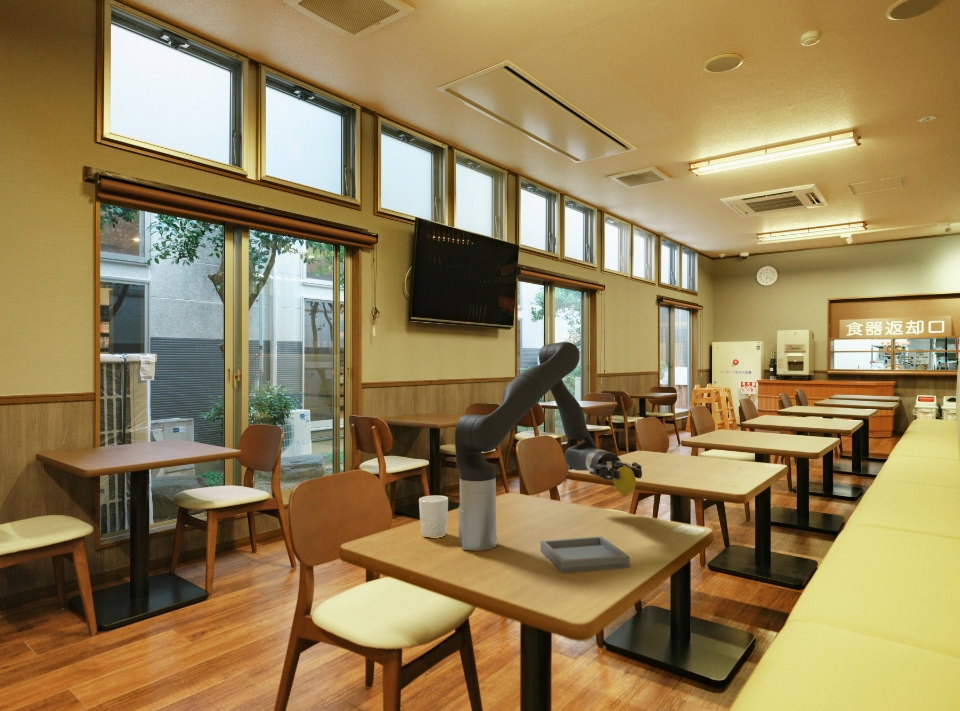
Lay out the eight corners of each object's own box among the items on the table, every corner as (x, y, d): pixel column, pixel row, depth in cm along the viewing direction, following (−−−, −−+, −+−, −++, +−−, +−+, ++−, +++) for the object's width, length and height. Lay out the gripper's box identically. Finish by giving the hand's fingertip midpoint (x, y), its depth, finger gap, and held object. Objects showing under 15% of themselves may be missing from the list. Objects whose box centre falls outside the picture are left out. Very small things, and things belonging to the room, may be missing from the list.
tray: (561, 573, 130) (561, 561, 131) (540, 551, 146) (540, 540, 146) (629, 567, 134) (629, 556, 134) (601, 546, 149) (601, 536, 149)
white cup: (435, 541, 156) (434, 503, 156) (413, 536, 160) (412, 499, 161) (454, 534, 162) (453, 497, 162) (432, 529, 167) (432, 494, 167)
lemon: (612, 497, 152) (612, 466, 152) (615, 493, 157) (615, 463, 158) (634, 499, 150) (634, 467, 150) (637, 494, 156) (636, 464, 156)
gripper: (578, 451, 167) (602, 461, 150) (626, 449, 169) (655, 459, 153) (578, 478, 167) (602, 491, 150) (626, 476, 169) (655, 488, 153)
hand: (629, 474), depth 152 cm, fingers closed on lemon, 5 cm apart
